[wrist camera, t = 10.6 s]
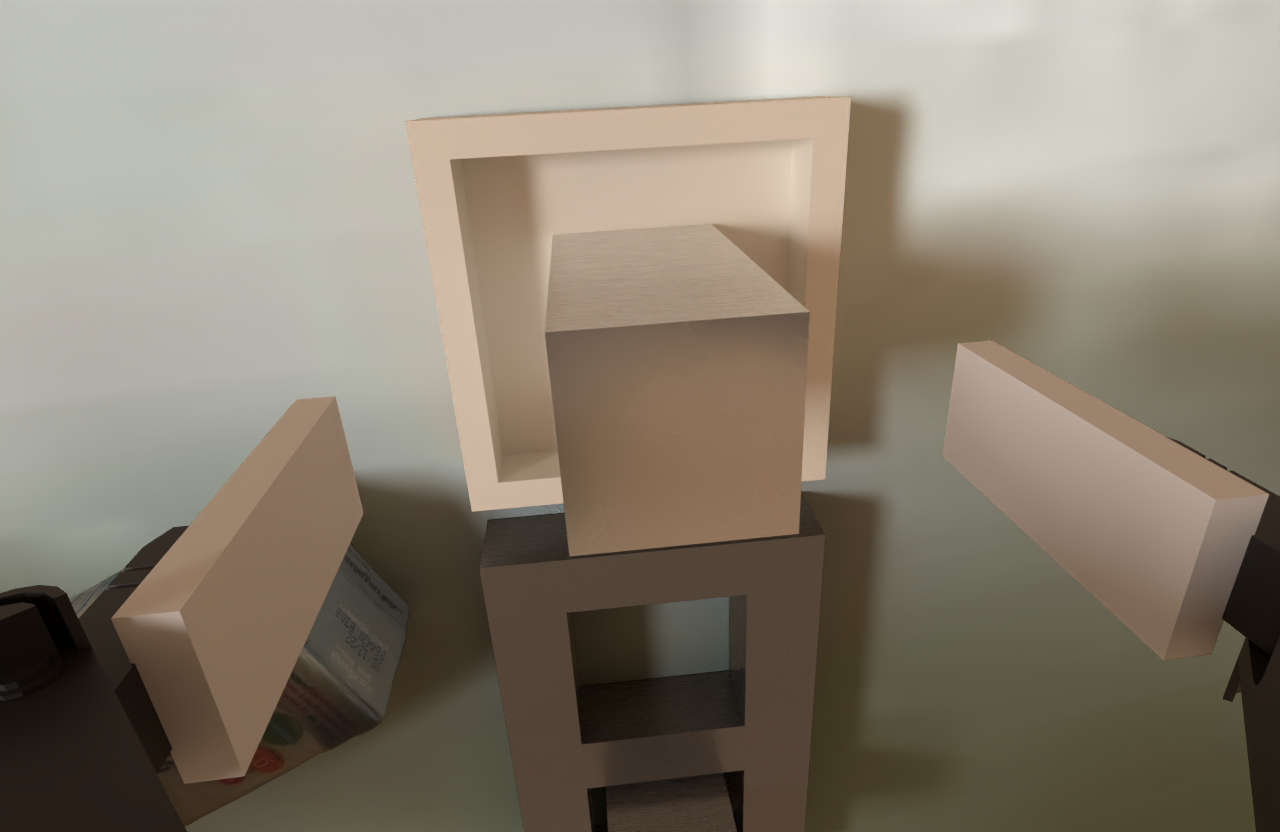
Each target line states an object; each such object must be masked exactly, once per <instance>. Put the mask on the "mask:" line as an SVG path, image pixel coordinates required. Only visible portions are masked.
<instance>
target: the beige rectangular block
mask: <svg viewBox="0 0 1280 832" xmlns="http://www.w3.org/2000/svg"><path fill="white" fill-rule="evenodd" d="M606 804H607V821H608V832H737V830H736V825H735V821H734V817H733V812H732V808H731V804H730V799H729V795H728V791H727V787H726V782H725V778H724V774H723V773H715V774H707V775H698V776H690V777H681V778H673V779H664V780H656V781H648V782H639V783H631V784H622V785H614V786H606Z"/></svg>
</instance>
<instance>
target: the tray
mask: <svg viewBox="0 0 1280 832" xmlns="http://www.w3.org/2000/svg"><path fill="white" fill-rule="evenodd" d="M850 105H851V97H823V96H820V97H801V98H783V99H765V100H747V101H728V102H710V103H692V104H674V105H655V106H637V107H619V108H601V109H582V110H564V111H546V112H527V113H509V114H491V115H473V116H454V117H436V118H421V119H416V120H410V121H405V123H406V129H407V135H408V141H409V147H410V153H411V159H412V164H413V170H414V176H415V182H416V188H417V194H418V199H419V205H420V211H421V217H422V223H423V229H424V235H425V240H426V246H427V252H428V258H429V264H430V270H431V275H432V281H433V287H434V293H435V299H436V305H437V311H438V316H439V322H440V328H441V334H442V340H443V346H444V352H445V357H446V363H447V369H448V375H449V381H450V387H451V392H452V398H453V404H454V410H455V416H456V422H457V428H458V433H459V439H460V445H461V451H462V457H463V463H464V468H465V474H466V480H467V486H468V492H469V498H470V504H471V509H472V512H474V511H485V510H495V509H506V508H517V507H528V506H539V505H550V504H561V503H564V502H563V493H562V484H561V475H560V466H559V457H558V448H557V439H556V430H555V421H554V412H553V403H552V394H551V385H550V376H549V367H548V358H547V349H546V340H545V322H546V310H547V298H548V286H549V274H550V262H551V250H552V239H553V235H558V234H572V233H587V232H601V231H616V230H630V229H644V228H659V227H673V226H688V225H702V224H712V225H713V226H714V227H715V228H717V229H718V230H719V231H720V232H721V233H722V234H723V235H724V236H726V237H727V238H728V239H729V240H730V241H731V242H732V243H733V244H735V245H736V246H737V247H738V248H739V249H740V250H741V251H742V252H743V253H745V254H746V255H747V256H748V257H749V258H750V259H751V260H752V261H754V262H755V263H756V264H757V265H758V266H759V267H760V268H761V269H762V270H764V271H765V272H766V273H767V274H768V275H769V276H770V277H771V278H773V279H774V280H775V281H776V282H777V283H778V284H779V285H780V286H781V287H783V288H784V289H785V290H786V291H787V292H788V293H789V294H790V295H792V296H793V297H794V298H795V299H796V300H797V301H798V302H799V303H801V304H802V305H803V306H804V307H805V308H806V309H807V310H808V311H809V312H810V317H809V338H808V358H807V378H806V399H805V419H804V439H803V460H802V480H801V482H802V481H813V480H824V479H825V473H826V459H827V444H828V429H829V415H830V400H831V385H832V370H833V356H834V341H835V326H836V311H837V297H838V282H839V267H840V253H841V238H842V223H843V208H844V194H845V179H846V164H847V150H848V135H849V120H850Z"/></svg>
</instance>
